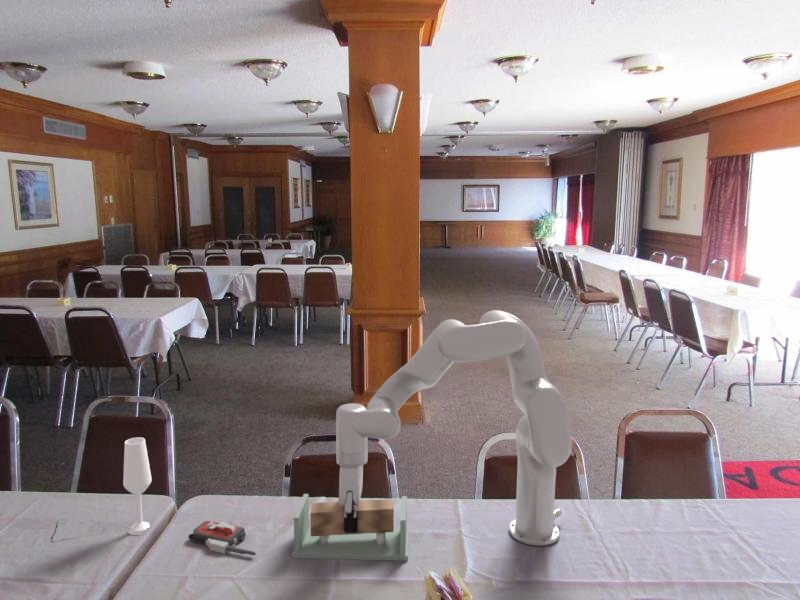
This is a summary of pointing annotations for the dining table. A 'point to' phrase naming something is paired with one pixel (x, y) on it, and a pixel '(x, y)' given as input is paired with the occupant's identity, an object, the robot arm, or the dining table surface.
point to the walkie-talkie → (220, 537)
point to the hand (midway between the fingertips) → (352, 524)
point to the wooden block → (370, 515)
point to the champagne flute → (137, 475)
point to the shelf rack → (349, 540)
